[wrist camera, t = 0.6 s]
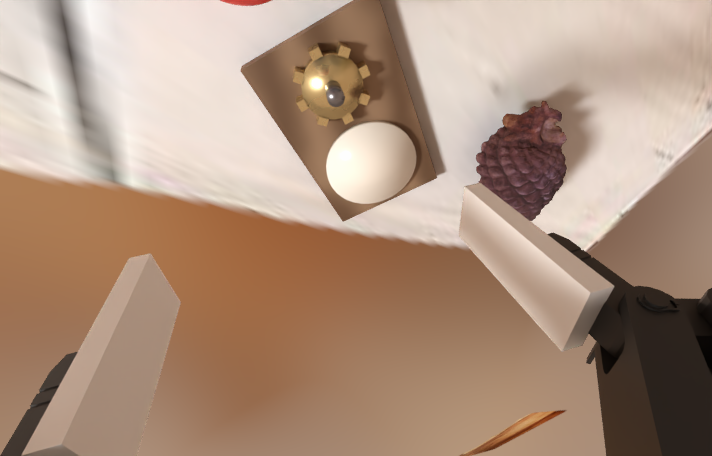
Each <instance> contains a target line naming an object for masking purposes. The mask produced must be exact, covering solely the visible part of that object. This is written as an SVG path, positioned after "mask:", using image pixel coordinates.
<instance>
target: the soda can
mask: <svg viewBox="0 0 712 456" xmlns="http://www.w3.org/2000/svg"><path fill="white" fill-rule="evenodd" d="M220 1H223V2H226V3H229V4H234V5H240V6H254V5H260V4H264V3H267V2H269V1H272V0H220Z"/></svg>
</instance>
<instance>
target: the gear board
mask: <svg viewBox="0 0 712 456" xmlns="http://www.w3.org/2000/svg"><path fill="white" fill-rule="evenodd" d="M338 41H339V42H341V43H344V44H346V45H349V47H350V48H351V51H350V54H349V58H351V59H352V61H353V62H354V63H355V64H358V63H360V62H361V61H363V60H364V62H365V63H366V65H367V67H368V70H369V72H370V75H369V76H367V77H366V78H364V79H363V89H364V90H367V91H368V92H369V94H370V99H369V101H368V104H367V105H363V104H360V103H359V104H358V106H357V107H356V109H355V110H354V111H353V112H351V114H352V117H353V119H354V121H352V122H350V123H348V124H346V125H345V123H344V121H343V119H342V118H340V119H329V121H328V124H327V127H326V126H322V125H319V124H317V120H316V117H317V115H316V114H315V113H313V112H312V111H311V110H310V109H309V108H308V109H307V110H305V111H303V112H301V110H300V109H299V107H298V105H297V104H296V97H298V96H300V95H302V88H301V84H298V83H295V82H293V73H294V68H295V66H296V67H299V68H302V69H304V67H305V66H306V64H307V63H308V61H309V60H310V59H311V56H310V54H309V52H308V48H309V47H311V46H313V45H315V44H316V43H317V44H318V46H319V48H320V50H321V52H324V51H336V48H337V45H338ZM241 72H242V74H243V75H244V76H245V78H246V79H247V81H248V82H249V84H250V85H251V87H252V88H253V90H254V91H255V93H256V94H257V96H258V97H259V99H260V100H261V102H262V103H263V104H264V106H265V107H266V109H267V110H268V112H269V113H270V115H271V116H272V118H273V119H274V121H275V122H276V124H277V125H278V127H279V128H280V130H281V131H282V132H283V134H284V135H285V137H286V138H287V140H288V141H289V143H290V144H291V146H292V147H293V149H294V150H295V152H296V153H297V155H298V156H299V157H300V159H301V160H302V162H303V163H304V165H305V166H306V168H307V169H308V171H309V172H310V174H311V175H312V177H313V178H314V180H315V181H316V183H317V184H318V185H319V187H320V188H321V190H322V191H323V193H324V194H325V196H326V197H327V199H328V200H329V202H330V203H331V205H332V206H333V208H334V209H335V211H336V212H337V213H338V215H339V216H340V218H341V219H342V221H345V220H348V219H350V218H352V217H354V216H356V215H358V214H361V213H363V212H365V211H367V210H369V209H371V208H373V207H376V206H378V205H380V204H382V203H384V202H386V201H389V200H391V199H393V198H395V197H397V196H399V195H402V194H404V193H406V192H408V191H410V190H412V189H414V188H417V187H419V186H421V185H423V184H425V183H427V182H430V181H432V180H434V179H436V178H437V176H436V173H435V170H434V167H433V164H432V161H431V158H430V155H429V152H428V149H427V145H426V142H425V139H424V136H423V133H422V130H421V127H420V124H419V121H418V118H417V114H416V111H415V108H414V105H413V102H412V99H411V96H410V93H409V90H408V87H407V84H406V80H405V77H404V74H403V71H402V68H401V65H400V62H399V59H398V56H397V53H396V50H395V46H394V43H393V40H392V37H391V34H390V31H389V28H388V25H387V22H386V19H385V16H384V12H383V9H382V6H381V3H380V0H353V1H351V2H350V3H348V4H346V5H345V6H343V7H341V8H339V9H338V10H336V11H334V12H333V13H331V14H329V15H328V16H326V17H324V18H323V19H321V20H319V21H317V22H316V23H314V24H312V25H311V26H309V27H307V28H306V29H304V30H302V31H301V32H299V33H297V34H295V35H294V36H292V37H290V38H289V39H287V40H285V41H284V42H282V43H280V44H279V45H277V46H275V47H273V48H272V49H270V50H268V51H267V52H265V53H263V54H262V55H260V56H258V57H257V58H255V59H253V60H251V61H250V62H248V63H246V64H245V65H243V66H242V68H241ZM371 120H380V121H386V122H390V123H392V124H395V125H397V126H398V127H400V128H401V129H402V130H404V131H405V132H406V134H407V135H408V136H409V138H410V139H411V141H412V143H413V145H414V147H415V151H416V166H415V169H414V172H413V175H412V177H411V178H410V180H409V182H408V183H407V184H406V185H405V187H404V188H403V189H402V190H400V191H399V192H398V193H397V194H395V195H394V196H392V197H390V198H388V199H386V200H384V201H381V202H377V203H371V204H360V203H355V202H351V201H348V200H346V199H344V198H342V197H341V196H340V195H338V194H337V193H336V192H335V191H334V189H333V188H332V186H331V185H330V183H329V180H328V176H327V171H326V159H327V155H328V152H329V150H330V147H331V146H332V144H333V142H334V141H335V140H336V138H337V137H338V136H339V135H340V134H341V133H343V132H344V131H345V130H346V129H348V128H350V127H351V126H354V125H356V124H358V123H361V122H365V121H371Z"/></svg>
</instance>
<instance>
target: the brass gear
mask: <svg viewBox="0 0 712 456" xmlns="http://www.w3.org/2000/svg"><path fill="white" fill-rule="evenodd" d="M350 51H351V48H350V47H349V45H346V44H344V43H341V42H339V41H338V45H337V48H336V51H324V52H321V50H320V48H319V46H318V44H317V43H316V44H315V45H313V46H311V47H309V48H308V52H309V54H310V56H311V59H310V60H309V61H308V63H307V64H306V66H305V67H304V69H302V68H299V67H296V66H295V68H294V73H293V82H295V83H298V84H301V88H302V95H300V96H298V97H296V104H297V105H298V107H299V109H300V110H301V112H303V111H305V110H307V109H308V108H309V109H310V110H311V111H312V112H313V113H315V114H316V115H317V117H316V120H317V124H319V125H322V126H326V127H327V124H328V121H329V119H340V118H342V119H343V121H344V123H345V125H346V124H348V123H350V122H352V121H354V119H353V117H352V114H351V112H353V111H354V110H355V109H356V107H357V106H358V104H359V103H360V104H363V105H367V104H368V101H369V99H370V94H369V92H368V91H367V90H364V89H363V79H364V78H366V77H367V76H369V75H370V72H369V70H368V67H367V65H366V63H365V62H364V60H363V61H361V62H360V63H358V64H355V63H354V62H353V61H352V59H351V58H349V54H350Z"/></svg>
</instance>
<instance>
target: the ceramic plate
mask: <svg viewBox="0 0 712 456" xmlns="http://www.w3.org/2000/svg"><path fill="white" fill-rule="evenodd" d="M415 166H416V151H415V147H414V145H413V143H412V141H411V139H410V138H409V136H408V135H407V134H406V132H405V131H404V130H402V129H401V128H400V127H398V126H397V125H395V124H392V123H390V122H386V121H380V120H371V121H365V122H361V123H358V124H356V125H354V126H351V127H350V128H348V129H346V130H345V131H344V132H343V133H341V134H340V135H339V136H338V137H337V138H336V140H335V141H334V142H333V144H332V146H331V147H330V150H329V152H328V155H327V159H326V171H327V176H328V180H329V183H330V185H331V186H332V188H333V189H334V191H335V192H336V193H337V194H338V195H340V196H341V197H342V198H344V199H346V200H348V201H351V202H355V203H360V204H371V203H377V202H381V201H384V200H386V199H388V198H390V197H392V196H394V195H395V194H397V193H398V192H399V191H400V190H402V189H403V188H404V187H405V185H406V184H407V183H408V182H409V180H410V178H411V177H412V175H413V172H414V169H415Z"/></svg>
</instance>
